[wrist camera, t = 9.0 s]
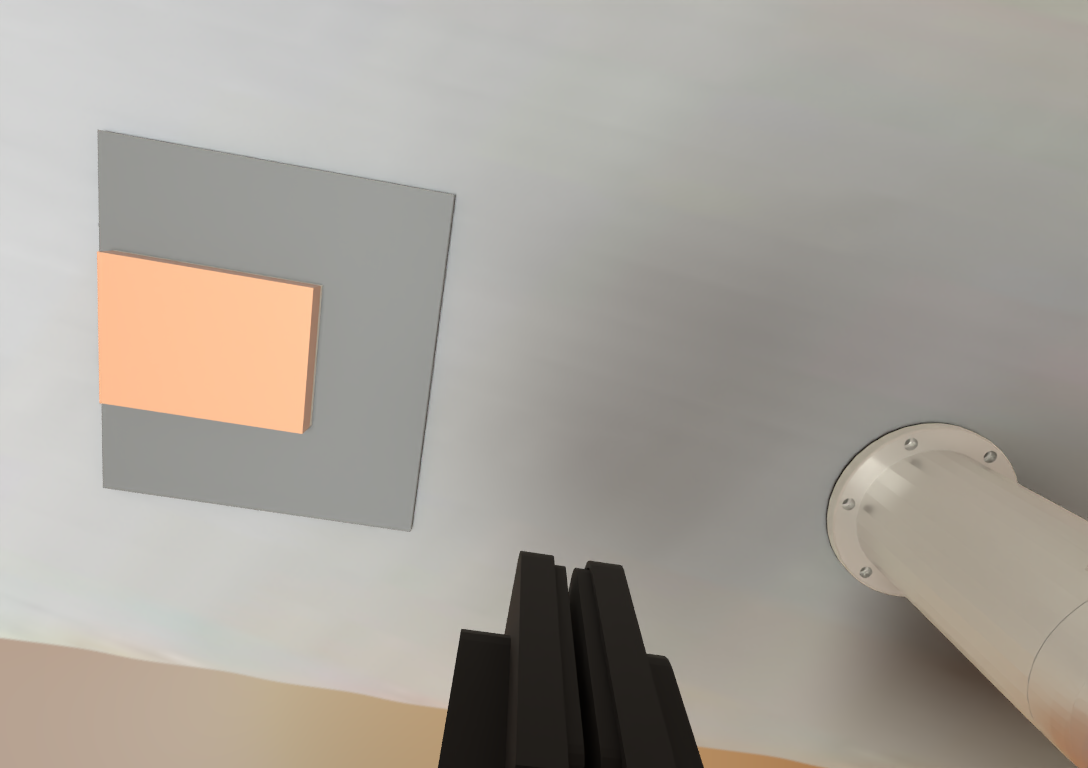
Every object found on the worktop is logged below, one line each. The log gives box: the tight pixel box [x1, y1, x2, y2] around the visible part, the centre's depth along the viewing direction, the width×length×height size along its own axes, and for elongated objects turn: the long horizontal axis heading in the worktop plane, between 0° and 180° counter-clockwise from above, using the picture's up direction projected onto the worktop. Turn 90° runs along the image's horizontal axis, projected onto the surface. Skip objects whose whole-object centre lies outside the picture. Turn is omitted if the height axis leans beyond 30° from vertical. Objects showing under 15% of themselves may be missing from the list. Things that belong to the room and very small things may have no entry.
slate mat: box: [98, 130, 455, 532], centre depth 37 cm, size 20×22×1 cm
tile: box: [97, 250, 323, 434], centre depth 36 cm, size 2×9×12 cm
